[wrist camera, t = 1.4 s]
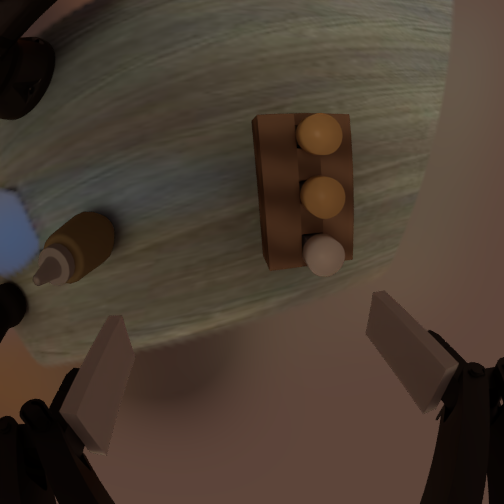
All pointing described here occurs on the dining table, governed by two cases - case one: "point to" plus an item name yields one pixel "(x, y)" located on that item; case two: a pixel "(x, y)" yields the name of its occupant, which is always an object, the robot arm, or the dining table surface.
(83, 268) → the squeeze bottle
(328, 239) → the knob
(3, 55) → the robot arm
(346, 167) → the brown rectangular block
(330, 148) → the knob
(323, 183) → the knob middle
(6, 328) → the cola bottle
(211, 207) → the dining table surface
